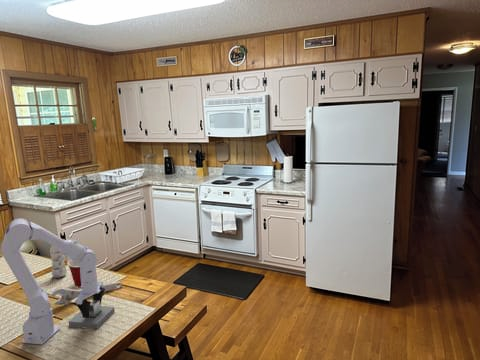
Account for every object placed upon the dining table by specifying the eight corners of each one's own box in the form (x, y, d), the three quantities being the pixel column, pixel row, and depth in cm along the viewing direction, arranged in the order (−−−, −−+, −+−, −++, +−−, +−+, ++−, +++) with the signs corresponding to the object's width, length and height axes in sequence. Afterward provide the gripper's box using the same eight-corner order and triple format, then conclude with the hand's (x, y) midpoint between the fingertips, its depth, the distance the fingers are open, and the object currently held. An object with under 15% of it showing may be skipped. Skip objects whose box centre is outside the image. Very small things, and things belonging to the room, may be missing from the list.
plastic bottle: (52, 275, 169) (48, 238, 166) (67, 272, 172) (63, 236, 169) (51, 280, 163) (47, 242, 160) (66, 277, 166) (62, 240, 163)
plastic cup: (87, 289, 154) (85, 265, 152) (65, 289, 154) (62, 265, 152) (98, 279, 164) (96, 256, 162) (76, 279, 164) (74, 256, 163)
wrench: (121, 293, 156) (51, 309, 136) (120, 291, 157) (50, 307, 137) (122, 276, 155) (51, 290, 135) (121, 275, 157) (50, 289, 137)
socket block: (97, 328, 123) (97, 324, 123) (69, 326, 125) (68, 321, 125) (114, 311, 135) (114, 307, 134) (88, 309, 137) (87, 304, 136)
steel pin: (95, 322, 128) (93, 305, 126) (85, 321, 128) (84, 304, 127) (100, 316, 131) (99, 300, 130) (91, 315, 132) (90, 299, 131)
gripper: (86, 289, 120) (89, 323, 122) (108, 272, 134) (111, 302, 136) (69, 287, 121) (73, 321, 123) (93, 271, 135) (95, 301, 137)
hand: (92, 311), depth 129 cm, fingers open, 7 cm apart
